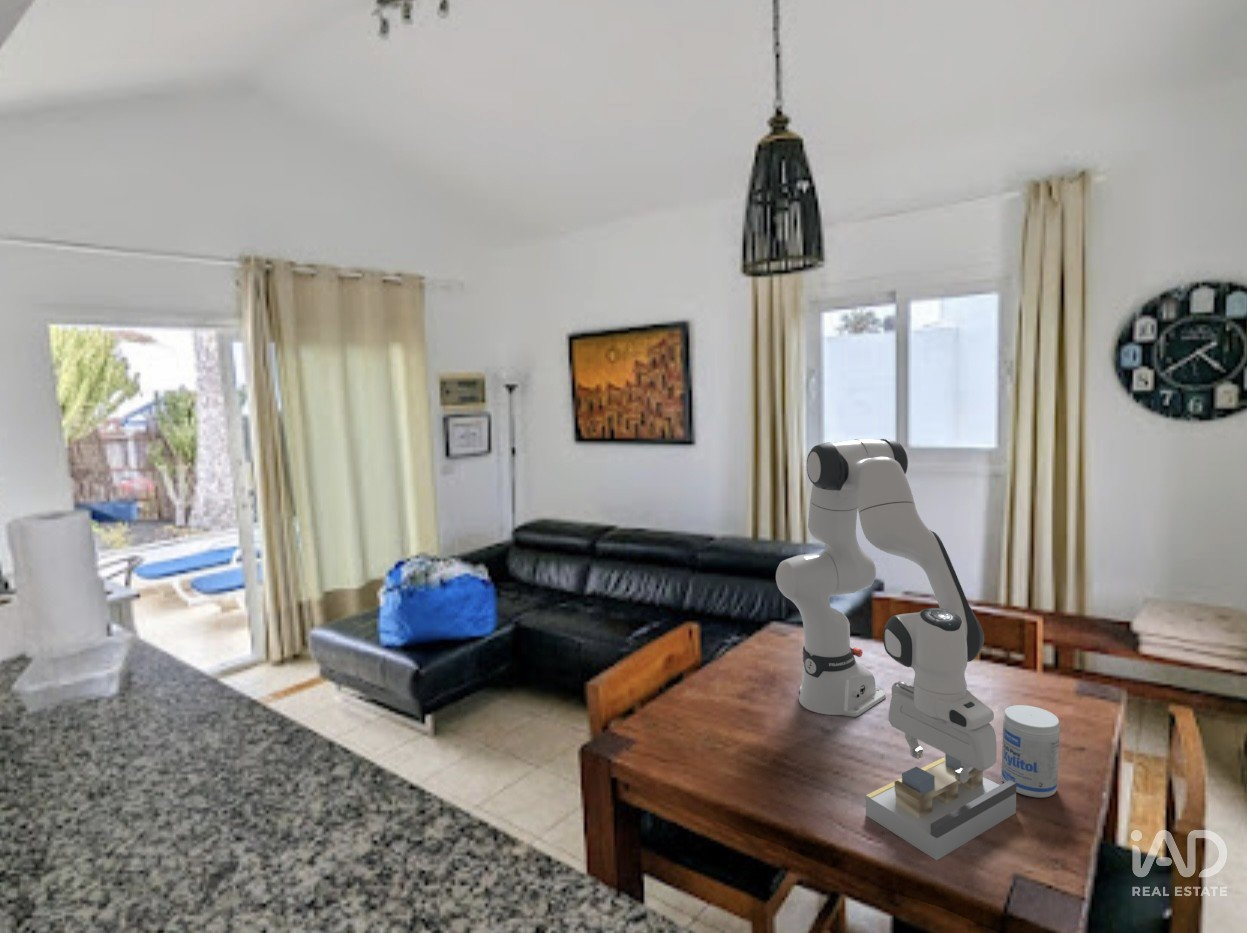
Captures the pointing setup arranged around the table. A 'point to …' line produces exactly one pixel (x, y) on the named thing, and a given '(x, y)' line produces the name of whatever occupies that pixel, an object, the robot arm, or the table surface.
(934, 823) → the dock
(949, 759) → the block
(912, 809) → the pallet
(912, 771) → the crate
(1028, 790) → the supplement tub
